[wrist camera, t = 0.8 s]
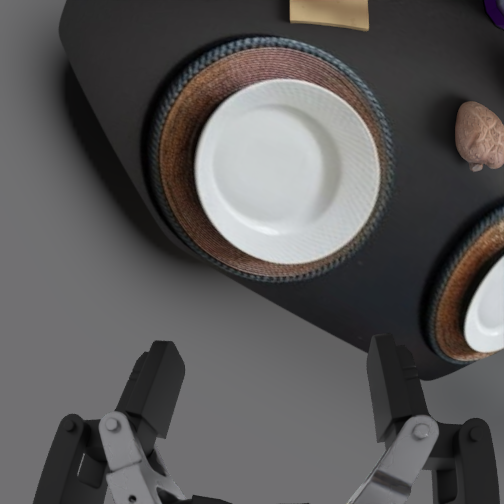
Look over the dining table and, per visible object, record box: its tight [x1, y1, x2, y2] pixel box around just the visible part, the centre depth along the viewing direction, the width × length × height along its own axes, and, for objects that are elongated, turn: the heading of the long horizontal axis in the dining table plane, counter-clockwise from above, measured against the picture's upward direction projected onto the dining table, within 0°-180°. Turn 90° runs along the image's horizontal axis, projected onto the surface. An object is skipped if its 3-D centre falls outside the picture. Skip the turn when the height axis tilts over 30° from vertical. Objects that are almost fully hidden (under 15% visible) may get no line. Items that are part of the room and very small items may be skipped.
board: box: [290, 0, 369, 31], centre depth 20 cm, size 6×8×1 cm
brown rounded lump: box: [455, 101, 504, 172], centre depth 22 cm, size 8×6×8 cm
